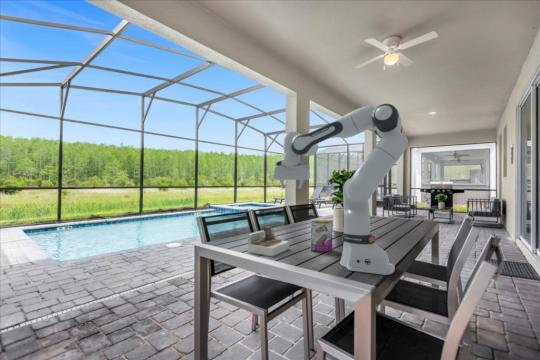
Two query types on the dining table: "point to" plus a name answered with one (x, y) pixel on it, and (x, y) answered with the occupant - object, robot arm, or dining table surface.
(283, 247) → the white l-shaped block
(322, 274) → the dining table surface
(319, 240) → the candy bar box
